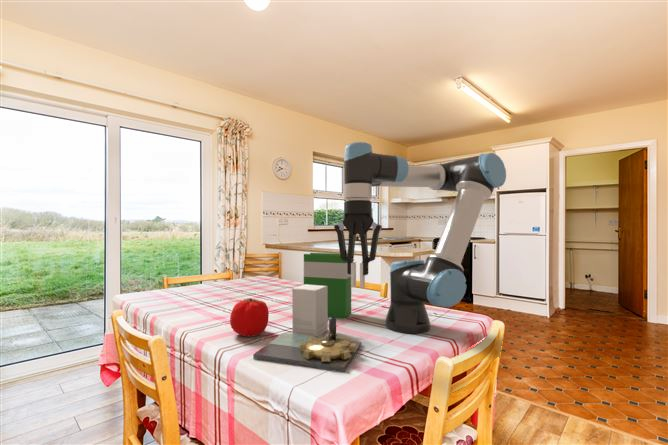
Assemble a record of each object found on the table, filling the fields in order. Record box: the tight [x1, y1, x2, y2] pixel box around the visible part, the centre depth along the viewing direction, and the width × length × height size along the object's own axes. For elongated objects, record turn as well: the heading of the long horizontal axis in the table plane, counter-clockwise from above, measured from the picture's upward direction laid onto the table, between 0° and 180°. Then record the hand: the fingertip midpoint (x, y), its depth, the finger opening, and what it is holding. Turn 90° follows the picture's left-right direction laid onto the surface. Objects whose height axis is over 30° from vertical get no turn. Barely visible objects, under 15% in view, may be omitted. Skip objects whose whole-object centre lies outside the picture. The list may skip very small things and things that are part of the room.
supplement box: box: [291, 284, 329, 337], centre depth 107 cm, size 9×9×15 cm
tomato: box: [229, 298, 270, 338], centre depth 105 cm, size 12×13×12 cm
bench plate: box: [253, 332, 363, 373], centre depth 90 cm, size 25×18×1 cm
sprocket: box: [300, 317, 356, 362], centre depth 87 cm, size 15×15×8 cm
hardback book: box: [303, 252, 352, 319], centre depth 129 cm, size 18×7×24 cm, turn 71°
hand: (357, 286), depth 88 cm, fingers open, 2 cm apart
